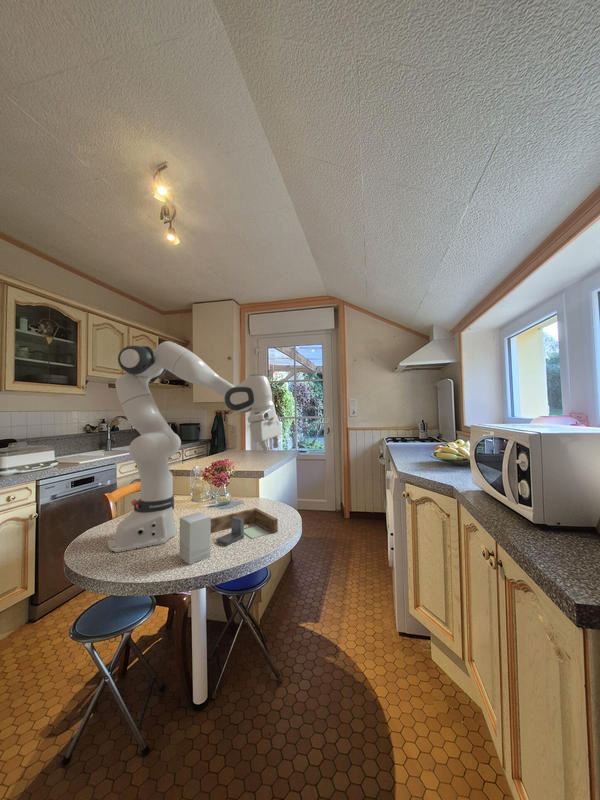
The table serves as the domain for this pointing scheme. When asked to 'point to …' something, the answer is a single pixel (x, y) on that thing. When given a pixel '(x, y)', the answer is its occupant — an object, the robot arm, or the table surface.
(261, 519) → the wooden corner frame
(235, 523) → the bracket
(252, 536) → the mat
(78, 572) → the table surface
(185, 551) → the supplement box
